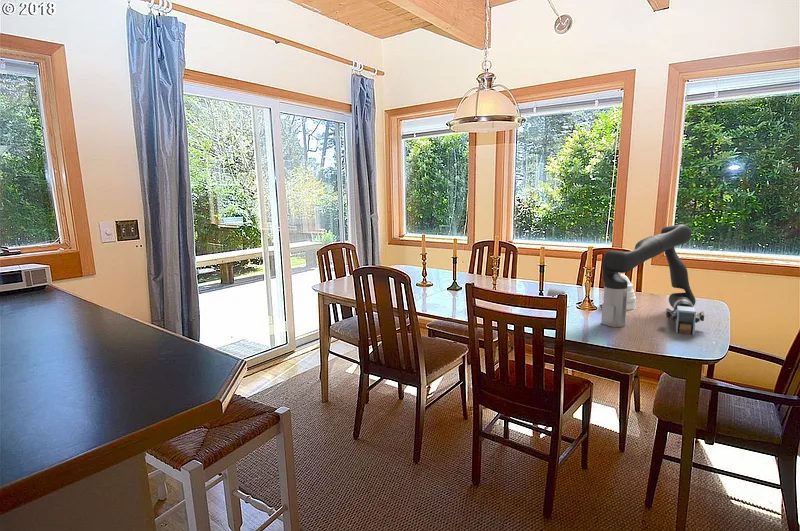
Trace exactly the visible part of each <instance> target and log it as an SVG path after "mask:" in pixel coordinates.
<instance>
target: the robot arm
mask: <svg viewBox="0 0 800 531" xmlns="http://www.w3.org/2000/svg"><path fill="white" fill-rule="evenodd" d="M691 238H692V229H691V228H690V227H689V226H688V225H686V224H674V225H667V226H664V227H662V229H661V231H660V233H659V234H655V235H650V236H648V237H646V238H645V237H644V238H643V239H641V240H639V241H638V242H637V243H636V244H635V246H634V249H633V250H629V251H622V250H613V249H612V250H608V251H607V252H605V253H604V256H603V258H602V280H603V284H604V285H603V286H604V287H603V303H602V304H601V317H600V318H601V323H600V324H602V325H604V326H608V327H612V328H620V327H625V326H626V324H627V323H626V319H627V310H626V305H627V286H628V283H627V281H626V280H625V279H623V278H622V277H621V276H620V275H619V274H618V272H619V273H621V274H623V273H624V274H625V273H627V272H628V273H629V272H630V271H632V270H633V269H635V268H636V267H637V266H639V265H640V264H642V263H644V262H646V261H648V260H650V259H653V258H655V257H658V255H661V254H662V253H665V257H666V260H667V263H668V267H669V274H670V275H669V276H670V282H671V283H670V284H671V287H672V288H674V289H681V290H683V291H684V292H675V293H673V292H672V293H671V294H670V295H669V296H668V303H669V305H670V307H671V308H673V310H672V309H670V308H665V315H666V318H668V319H669V318H671V319H672V320H673V321H675V322H676V315H677V306H685V307H694V306H695V305H696V298H695V295H694V293H693V291H692V289H691V285H690V282H689V274H688V268H687V267H686V265H685V264H684V261H682V259H680V257H679V256H678V254H677V252H676V248H675V247H678V246H679V245H684V244H686V243H687V242H689V240H690V239H691ZM701 321H702V322H704V321H705V311H699V312H697V311H696V319H695V324H698V323H700V322H701Z"/></svg>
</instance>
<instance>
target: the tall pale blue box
mask: <svg viewBox="0 0 800 531" xmlns="http://www.w3.org/2000/svg"><path fill="white" fill-rule="evenodd" d="M696 312H697V310H696V308H695V307H694V306H693V307H685V306H677V315H676V321H675V333H676V334H679V321H682V322H691V325H692V326H691V335H692V336H694V335H695V329H696V323H695V319H696Z"/></svg>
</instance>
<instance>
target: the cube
mask: <svg viewBox="0 0 800 531" xmlns="http://www.w3.org/2000/svg"><path fill="white" fill-rule="evenodd" d="M691 326H692V325H691V322H682V321H679V329H678V334H684V333H686V334H687V335H692V330H691Z"/></svg>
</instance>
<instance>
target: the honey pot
mask: <svg viewBox="0 0 800 531" xmlns="http://www.w3.org/2000/svg"><path fill="white" fill-rule="evenodd" d="M618 274H619V275H620V276H621V277H622V278H623V279H625V280H626V281H627V283H628V286H627V305H626V311H629V310H630V311H632V310H634V309H636V306H637V297H636V294H635V290H634V289H633V286H634V284H633V283H631V281H630V279H629V277H628V276H627V275H625V274H623V273H619V272H618Z"/></svg>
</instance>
